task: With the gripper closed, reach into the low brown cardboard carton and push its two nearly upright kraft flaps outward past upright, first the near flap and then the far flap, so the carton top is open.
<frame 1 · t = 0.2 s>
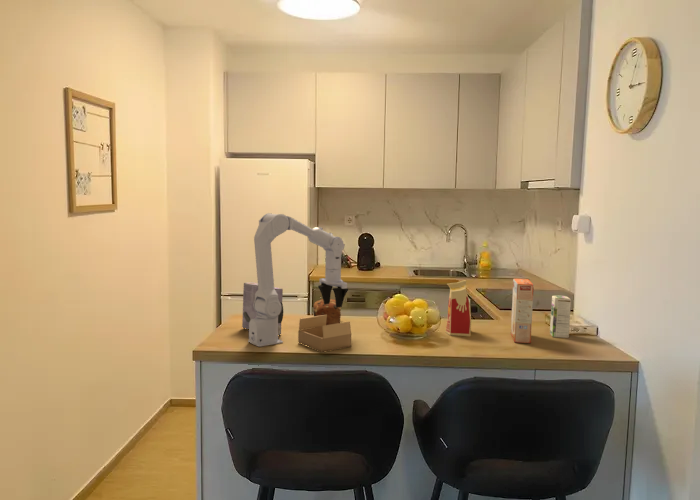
hand: (332, 305, 203), 10 cm above the worktop, tool pointing down, fingers open, 7 cm apart
near flap: (336, 329, 180), point 7 cm above the worktop, hinge at 80.0°
syrup box: (559, 336, 201), on the worktop
far flap: (313, 322, 190), point 7 cm above the worktop, hinge at 80.0°
bread: (326, 325, 216), on the worktop
cracker box: (520, 339, 197), on the worktop
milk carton: (457, 333, 204), on the worktop
cake pan box: (262, 333, 202), on the worktop
carton: (324, 344, 186), on the worktop
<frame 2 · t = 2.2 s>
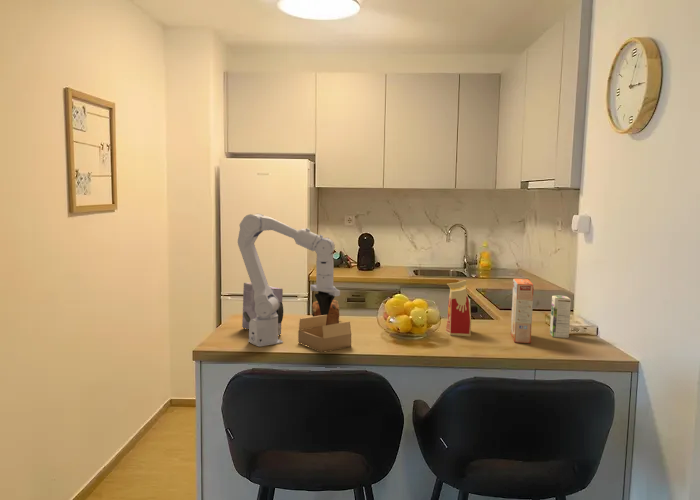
hand: (324, 314, 185), 10 cm above the worktop, tool pointing down, fingers closed
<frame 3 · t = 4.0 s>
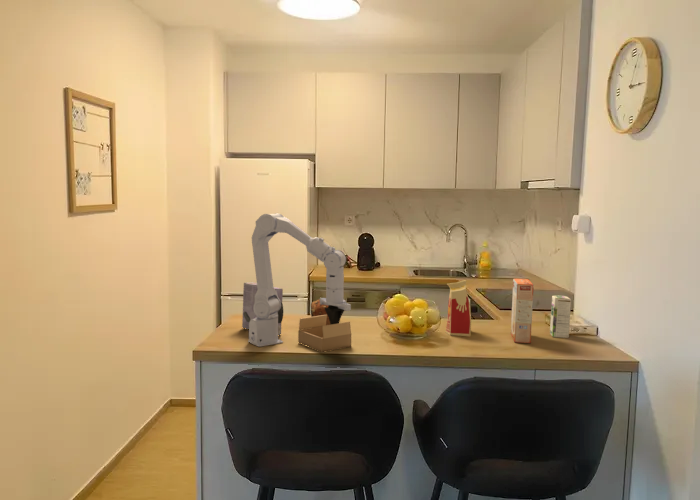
hand: (334, 328, 181), 7 cm above the worktop, tool pointing down, fingers closed, pressing on near flap
near flap: (336, 329, 180), point 7 cm above the worktop, hinge at 80.1°, touching gripper
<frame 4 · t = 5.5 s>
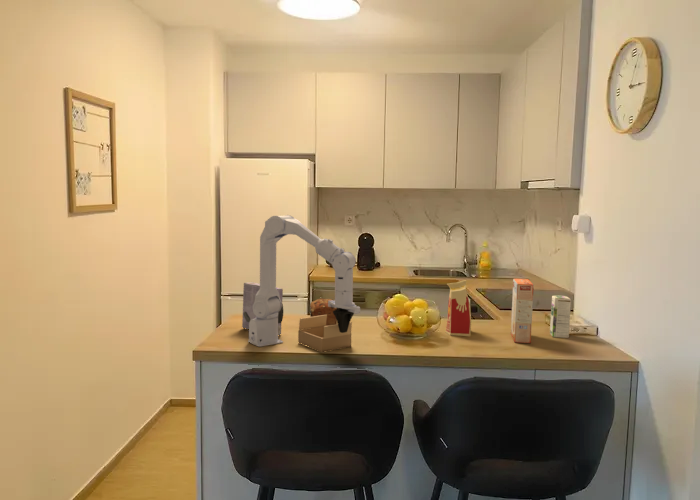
hand: (343, 332, 177), 6 cm above the worktop, tool pointing down, fingers closed
near flap: (337, 330, 179), point 6 cm above the worktop, hinge at 94.2°
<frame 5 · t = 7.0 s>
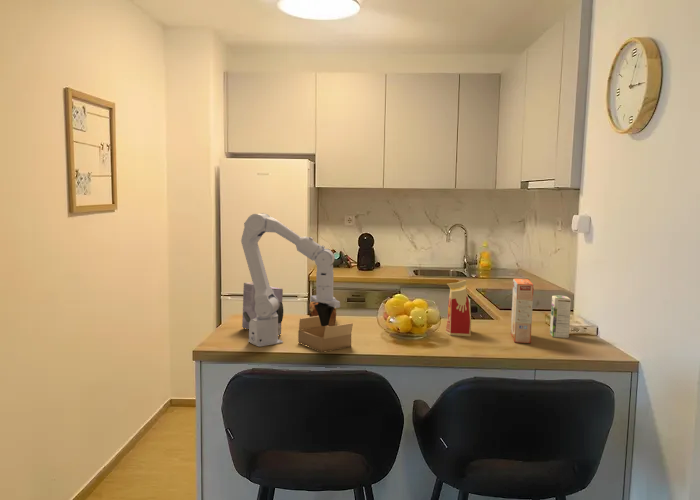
hand: (324, 325, 185), 7 cm above the worktop, tool pointing down, fingers closed
near flap: (338, 330, 179), point 6 cm above the worktop, hinge at 103.8°
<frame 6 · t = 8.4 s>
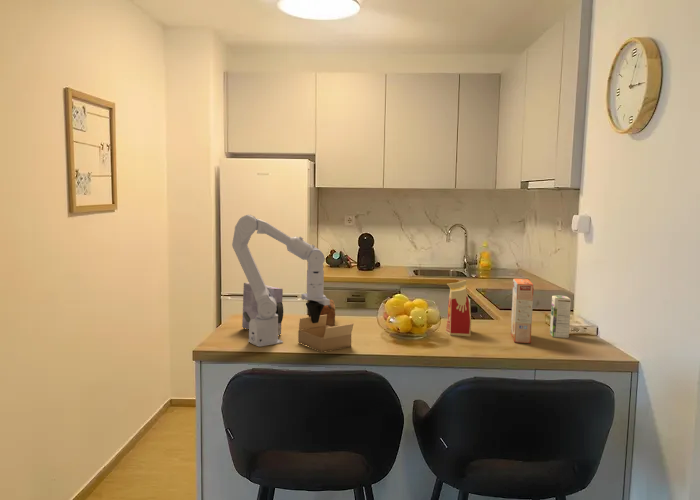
hand: (315, 322, 189), 7 cm above the worktop, tool pointing down, fingers closed, pressing on far flap
near flap: (338, 331, 179), point 6 cm above the worktop, hinge at 109.2°
far flap: (313, 322, 190), point 7 cm above the worktop, hinge at 80.1°, touching gripper
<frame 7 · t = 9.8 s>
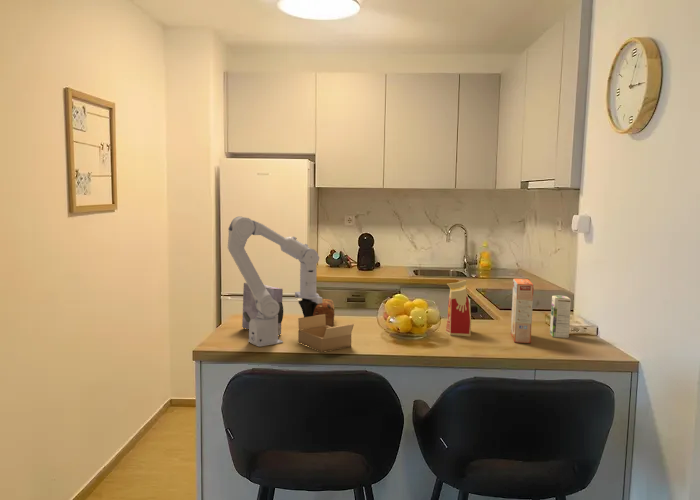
hand: (308, 320, 193), 6 cm above the worktop, tool pointing down, fingers closed
near flap: (338, 331, 179), point 6 cm above the worktop, hinge at 112.5°
far flap: (312, 322, 191), point 6 cm above the worktop, hinge at 93.7°
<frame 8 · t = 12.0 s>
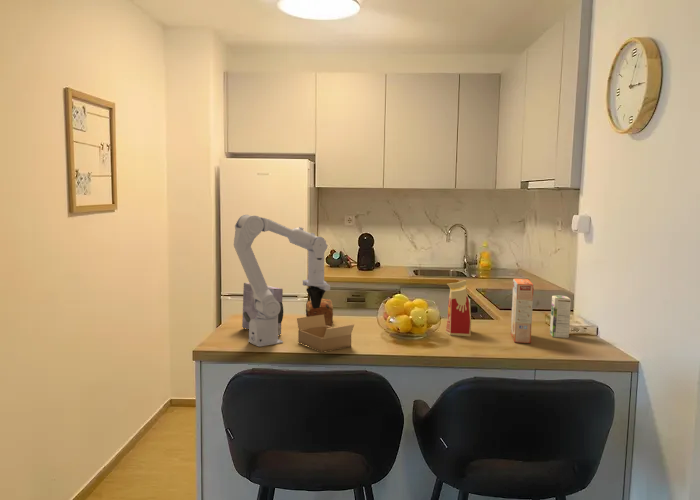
hand: (316, 307, 196), 10 cm above the worktop, tool pointing down, fingers closed
near flap: (339, 331, 179), point 6 cm above the worktop, hinge at 115.3°
far flap: (311, 322, 191), point 6 cm above the worktop, hinge at 107.8°
at the end: near flap at +115° (first picture: +80°); far flap at +108° (first picture: +80°) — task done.
